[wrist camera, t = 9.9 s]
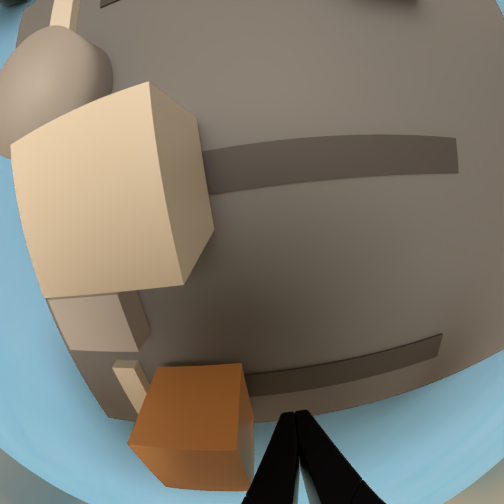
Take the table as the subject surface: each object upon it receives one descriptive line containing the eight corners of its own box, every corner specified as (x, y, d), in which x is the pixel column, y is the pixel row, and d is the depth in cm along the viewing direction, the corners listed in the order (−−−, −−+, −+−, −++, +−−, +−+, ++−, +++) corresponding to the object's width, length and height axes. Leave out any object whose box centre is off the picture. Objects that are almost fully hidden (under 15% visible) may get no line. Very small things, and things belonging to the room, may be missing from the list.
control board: (472, -9, 5) (507, -27, 2) (495, 333, 11) (527, 364, 8) (40, 18, 6) (-3, -1, 3) (117, 398, 12) (95, 445, 9)
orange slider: (241, 362, 9) (236, 450, 5) (253, 416, 10) (253, 490, 6) (157, 366, 9) (127, 443, 6) (181, 418, 10) (166, 486, 6)
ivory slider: (196, 117, 6) (149, 81, 3) (214, 229, 7) (183, 285, 4) (97, 145, 7) (10, 144, 3) (116, 245, 7) (44, 298, 4)
